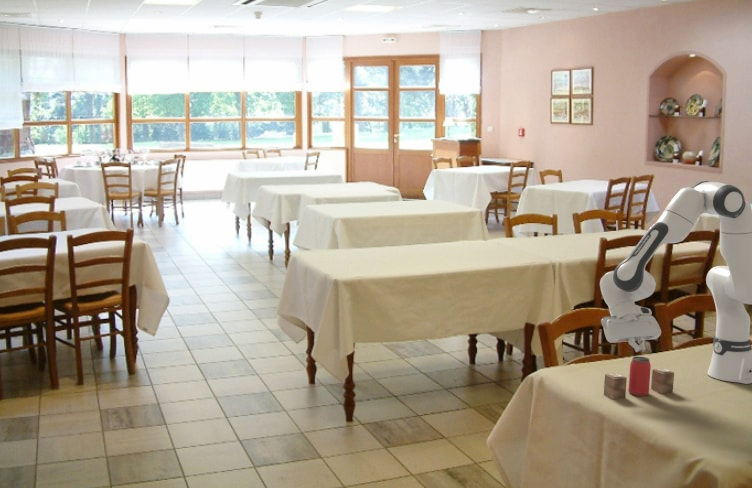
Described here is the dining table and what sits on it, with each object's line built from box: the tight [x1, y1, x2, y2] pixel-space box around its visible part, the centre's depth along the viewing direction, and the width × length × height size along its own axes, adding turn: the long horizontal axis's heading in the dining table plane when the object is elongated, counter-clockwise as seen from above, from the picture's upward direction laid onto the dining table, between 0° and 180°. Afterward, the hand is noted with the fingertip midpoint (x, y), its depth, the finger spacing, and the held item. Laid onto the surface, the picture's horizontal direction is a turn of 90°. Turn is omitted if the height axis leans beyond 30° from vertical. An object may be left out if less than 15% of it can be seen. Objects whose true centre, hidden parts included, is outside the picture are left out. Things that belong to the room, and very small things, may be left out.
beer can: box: [627, 356, 652, 397], centre depth 297 cm, size 7×7×12 cm
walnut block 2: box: [650, 367, 675, 395], centre depth 301 cm, size 5×5×7 cm
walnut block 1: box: [603, 372, 628, 400], centre depth 294 cm, size 5×5×7 cm
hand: (640, 351), depth 296 cm, fingers closed
